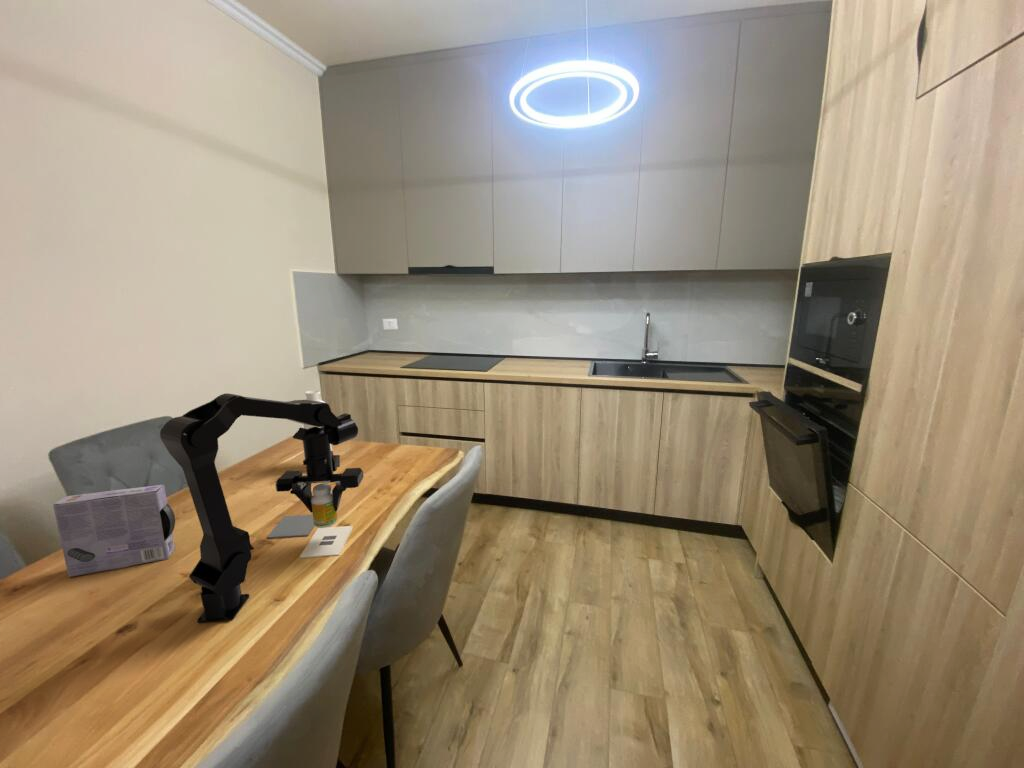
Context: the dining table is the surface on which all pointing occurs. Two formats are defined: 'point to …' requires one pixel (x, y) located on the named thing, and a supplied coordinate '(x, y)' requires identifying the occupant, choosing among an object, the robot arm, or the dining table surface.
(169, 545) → the cake pan box
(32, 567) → the dining table surface
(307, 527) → the slate mat
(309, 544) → the tile
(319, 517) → the supplement bottle
